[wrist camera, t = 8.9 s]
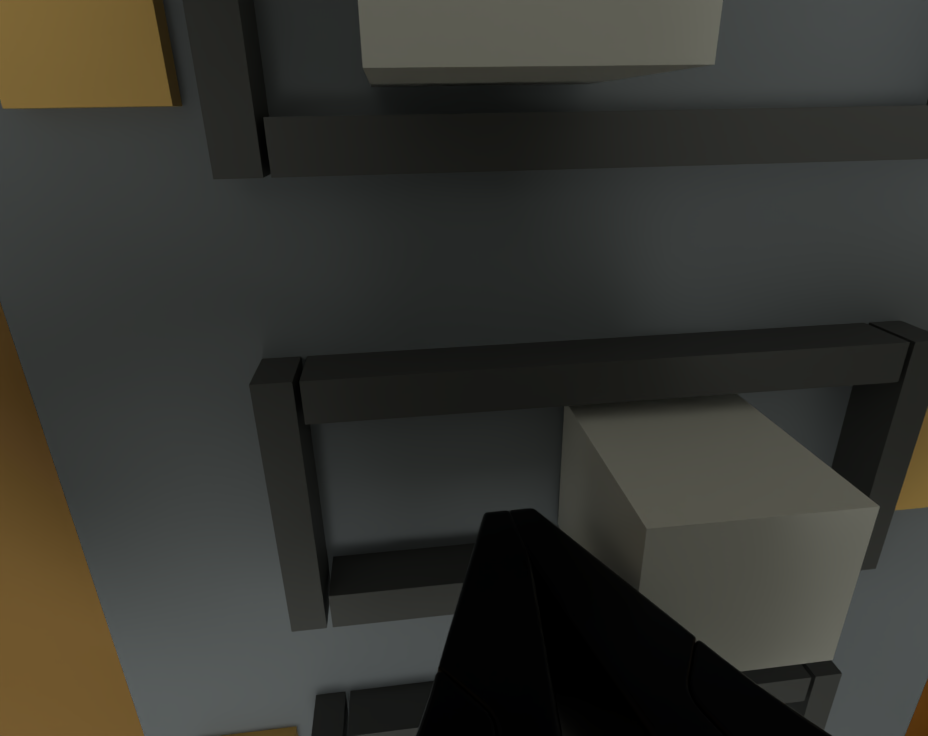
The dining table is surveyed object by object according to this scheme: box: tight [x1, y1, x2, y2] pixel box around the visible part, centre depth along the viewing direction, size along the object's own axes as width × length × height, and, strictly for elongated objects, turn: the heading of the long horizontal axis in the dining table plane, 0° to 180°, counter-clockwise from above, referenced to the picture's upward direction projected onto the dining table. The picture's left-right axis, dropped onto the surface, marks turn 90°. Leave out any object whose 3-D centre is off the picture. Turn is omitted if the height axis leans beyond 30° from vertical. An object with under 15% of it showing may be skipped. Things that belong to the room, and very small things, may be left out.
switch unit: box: [0, 0, 928, 736], centre depth 11 cm, size 18×23×3 cm
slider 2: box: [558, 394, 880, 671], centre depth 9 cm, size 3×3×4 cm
